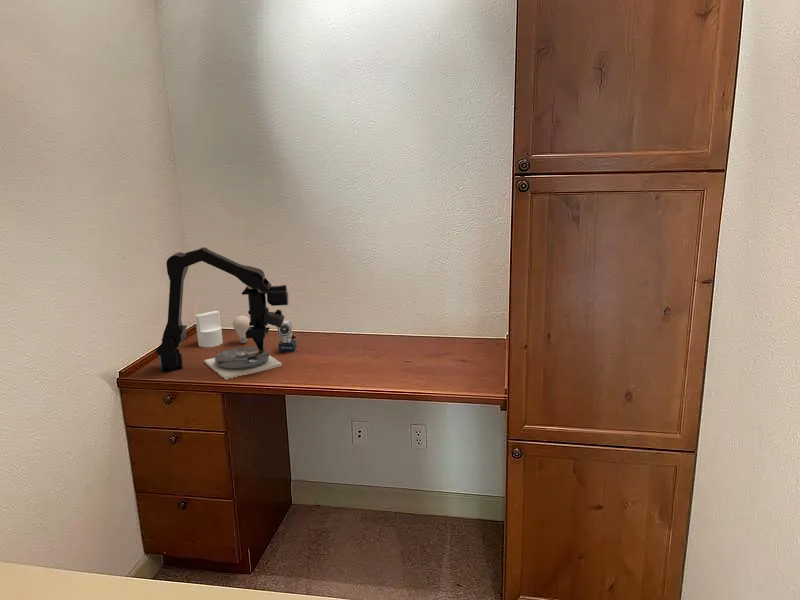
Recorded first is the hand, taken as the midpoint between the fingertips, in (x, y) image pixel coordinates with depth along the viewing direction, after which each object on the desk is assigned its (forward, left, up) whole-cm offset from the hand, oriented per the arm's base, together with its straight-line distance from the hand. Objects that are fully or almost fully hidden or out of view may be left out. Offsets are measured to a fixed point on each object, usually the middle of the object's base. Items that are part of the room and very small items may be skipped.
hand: (261, 349), depth 208 cm
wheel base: (-6, +4, -5) cm, 8 cm away
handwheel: (-6, +4, -3) cm, 7 cm away
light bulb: (+3, +26, -5) cm, 26 cm away
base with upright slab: (-7, +34, -5) cm, 35 cm away
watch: (+13, +8, -5) cm, 16 cm away
